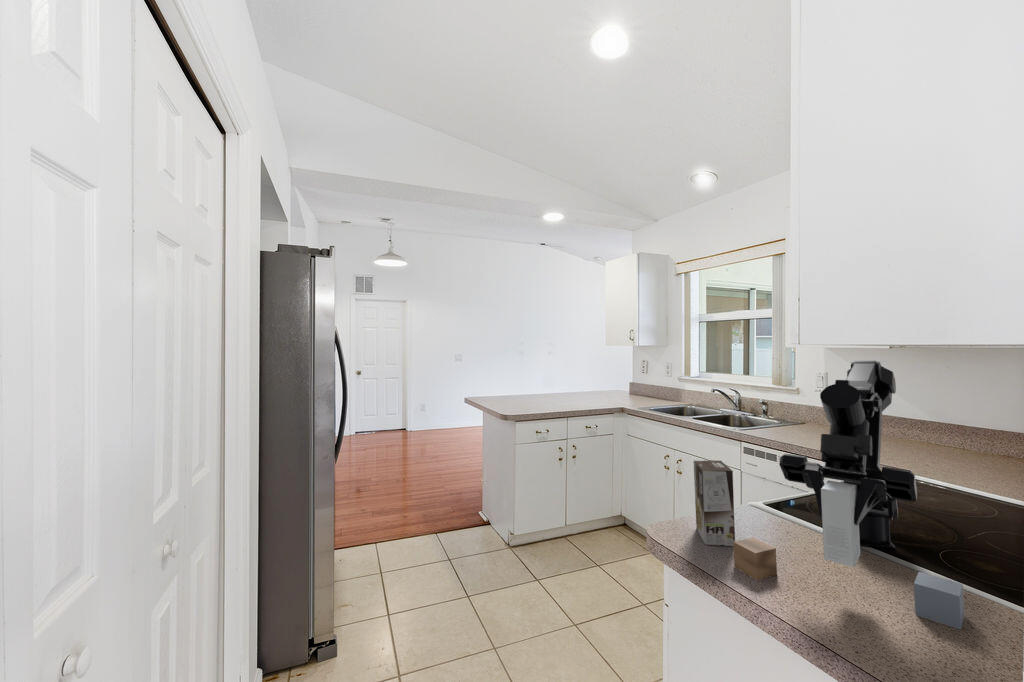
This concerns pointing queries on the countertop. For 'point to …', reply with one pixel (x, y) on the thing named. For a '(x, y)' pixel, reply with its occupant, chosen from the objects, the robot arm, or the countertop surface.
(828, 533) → the skincare box
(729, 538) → the coffee box
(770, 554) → the walnut block
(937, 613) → the slate block
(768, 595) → the countertop surface
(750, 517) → the countertop surface
